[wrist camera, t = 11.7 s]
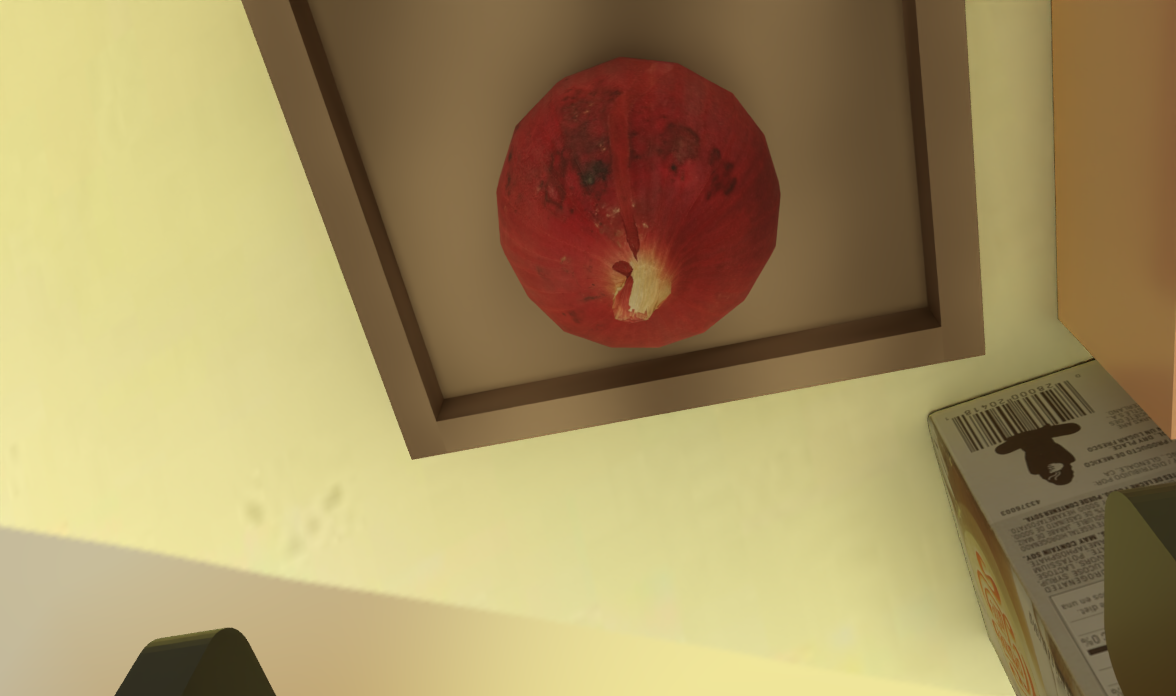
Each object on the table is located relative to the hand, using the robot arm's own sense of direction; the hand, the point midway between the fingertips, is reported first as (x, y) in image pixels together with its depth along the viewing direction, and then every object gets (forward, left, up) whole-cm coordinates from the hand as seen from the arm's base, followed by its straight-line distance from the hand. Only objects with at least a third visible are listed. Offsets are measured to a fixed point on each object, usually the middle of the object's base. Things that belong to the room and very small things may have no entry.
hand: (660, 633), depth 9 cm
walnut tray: (0, 0, -17) cm, 17 cm away
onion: (0, 0, -16) cm, 16 cm away
